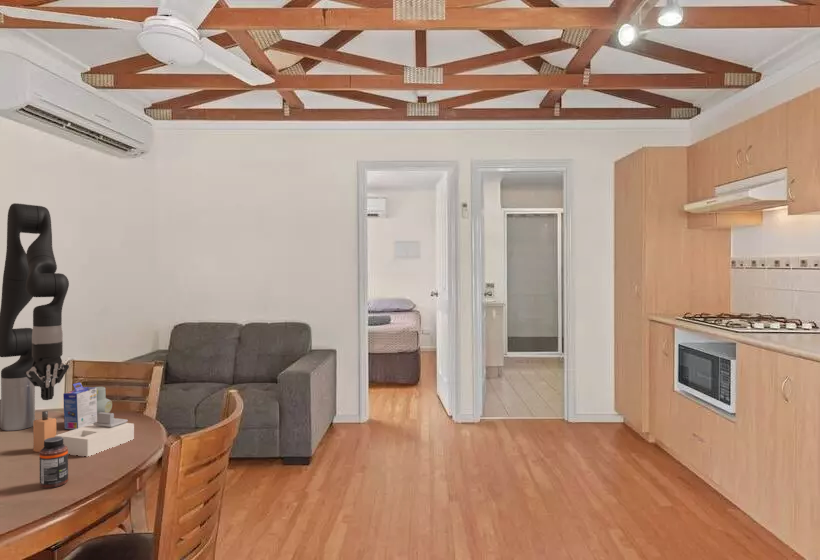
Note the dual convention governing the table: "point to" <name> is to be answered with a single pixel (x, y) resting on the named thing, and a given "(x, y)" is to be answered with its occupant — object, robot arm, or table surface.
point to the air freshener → (102, 400)
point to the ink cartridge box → (80, 407)
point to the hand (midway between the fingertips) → (47, 399)
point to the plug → (43, 430)
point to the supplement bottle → (53, 463)
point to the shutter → (108, 420)
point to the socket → (96, 438)
